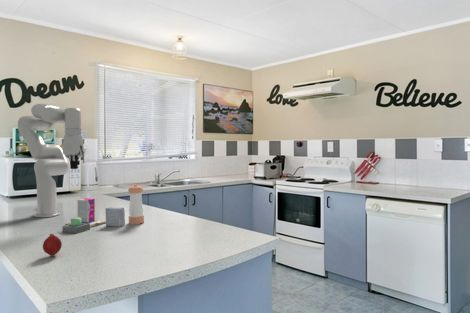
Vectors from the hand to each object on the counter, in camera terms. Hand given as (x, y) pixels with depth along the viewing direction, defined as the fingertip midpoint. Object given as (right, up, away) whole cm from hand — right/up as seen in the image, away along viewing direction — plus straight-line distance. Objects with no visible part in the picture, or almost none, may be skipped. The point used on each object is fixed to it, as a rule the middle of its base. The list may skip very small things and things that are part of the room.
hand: (74, 168), depth 173 cm
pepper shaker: (+33, -27, -4) cm, 43 cm away
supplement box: (+8, -26, -5) cm, 28 cm away
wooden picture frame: (+9, -27, -5) cm, 29 cm away
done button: (+10, -27, -18) cm, 34 cm away
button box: (+10, -28, -18) cm, 34 cm away
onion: (+18, -29, -54) cm, 64 cm away
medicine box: (+24, -27, -9) cm, 38 cm away
